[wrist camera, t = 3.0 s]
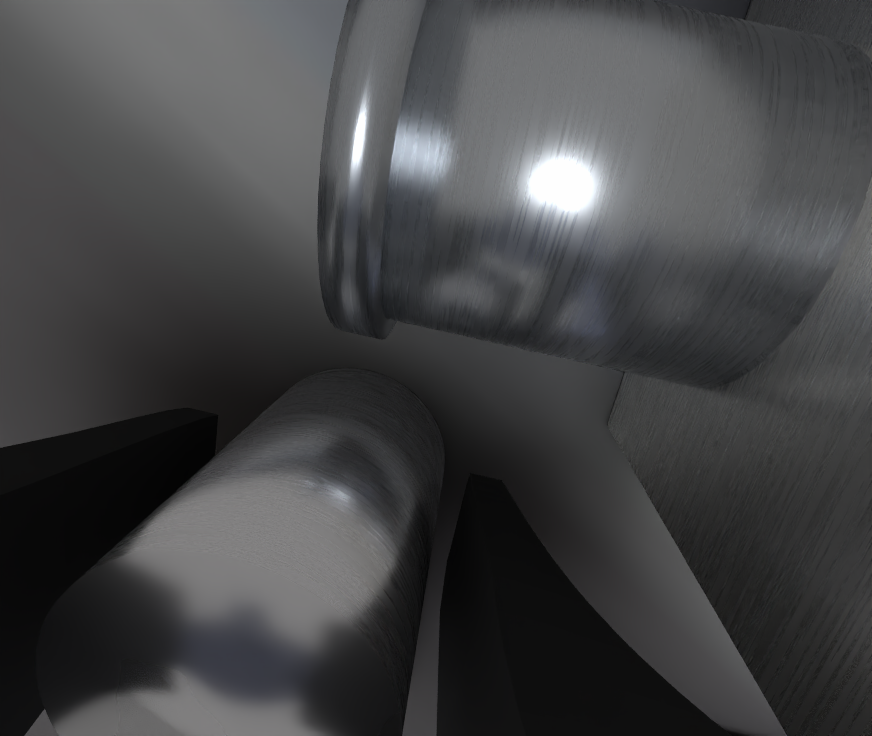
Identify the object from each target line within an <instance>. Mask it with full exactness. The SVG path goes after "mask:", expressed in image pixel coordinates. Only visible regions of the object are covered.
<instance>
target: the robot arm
mask: <svg viewBox="0 0 872 736" xmlns="http://www.w3.org/2000/svg"><path fill="white" fill-rule="evenodd" d="M217 421H218V415H216V414H212V413H207V412H203V411H199V410H194V409H190V408H182V409H174V410H168V411H163V412H158V413H154V414H149V415H145V416H141V417H136V418H132V419H128V420H124V421H120V422H115V423H111V424H107V425H103V426H99V427H95V428H90V429H86V430H82V431H78V432H74V433H69V434H64V435H60V436H55V437H50V438H45V439H41V440H36V441H31V442H27V443H22V444H17V445H12V446H8V447H3V448H0V736H24V735H25V734H26V733H27V731H28V730H29V729H30V727H31V726H32V725H33V723H34V722H35V721H36V719H37V718H38V717H39V715H40V714H41V713H42V711H43V710H44V709H45V708H44V705H43V702H42V699H41V695H40V692H39V688H38V683H37V675H36V649H37V644H38V640H39V635H40V631H41V629H42V626H43V624H44V622H45V619H46V617H47V615H48V613H49V612H50V610H51V609H52V607H53V606H54V604H55V603H56V601H57V600H58V599H59V598H60V597H61V596H62V595H63V594H64V593H65V592H66V590H67V589H68V588H69V587H70V586H71V585H72V584H74V583H75V582H76V581H77V580H78V579H79V578H80V577H81V576H82V575H84V574H85V573H86V572H87V571H88V570H89V569H90V568H91V567H92V566H94V565H95V564H96V563H97V562H98V561H99V560H100V559H101V558H102V557H104V556H105V555H106V554H107V553H108V552H109V551H110V550H111V549H112V548H113V547H115V546H116V545H117V544H118V543H119V542H120V541H121V540H122V539H123V538H125V537H126V536H127V535H128V534H129V533H130V532H131V531H132V530H133V529H135V528H136V527H137V526H138V525H139V524H140V523H141V522H142V521H143V520H144V519H146V518H147V517H148V516H149V515H150V514H151V513H152V512H153V511H154V510H156V509H157V508H158V507H159V506H160V505H161V504H162V503H163V502H164V501H166V500H167V499H168V498H169V497H170V496H171V495H172V494H173V493H174V492H176V491H177V490H178V489H179V488H180V487H181V486H182V485H183V484H184V483H185V482H187V481H188V480H189V479H190V478H191V477H192V476H193V475H194V474H195V473H197V472H198V471H199V470H200V469H201V468H202V467H203V466H204V465H205V464H207V463H208V462H209V461H210V460H211V459H212V458H213V457H214V456H215V445H216V433H217ZM437 736H731V735H730V734H729V733H728V732H726V731H725V730H724V729H723V728H721V727H720V726H719V725H717V724H716V723H715V722H714V721H712V720H711V719H710V718H709V717H708V716H706V715H705V714H704V713H703V712H702V711H701V710H699V709H698V708H697V707H696V706H695V705H693V704H692V703H691V702H690V701H689V700H688V699H686V698H685V697H684V696H683V695H682V694H681V693H679V692H678V691H677V690H676V689H675V688H674V687H673V686H672V685H671V684H669V683H668V682H667V681H666V680H665V679H664V678H663V677H662V676H661V675H660V674H659V673H657V672H656V671H655V670H654V669H653V668H652V667H651V666H650V665H649V664H648V663H647V662H646V661H644V660H643V659H642V658H641V657H640V656H639V655H638V654H637V653H636V652H635V651H634V650H633V649H632V648H631V647H630V646H629V645H628V644H627V643H626V642H625V641H624V640H623V639H622V638H621V637H620V636H619V635H618V634H617V633H616V632H615V631H614V630H613V629H612V628H611V627H610V626H609V625H608V623H607V622H606V621H605V620H604V619H603V618H602V617H601V616H600V615H599V614H598V613H597V612H596V611H595V610H594V608H593V607H592V606H591V605H590V604H589V603H588V602H587V601H586V600H585V598H584V597H583V596H582V595H581V594H580V593H579V591H578V590H577V589H576V588H575V587H574V585H573V584H572V583H571V582H570V580H569V579H568V578H567V576H566V575H565V574H564V573H563V571H562V570H561V569H560V568H559V566H558V565H557V564H556V562H555V561H554V560H553V558H552V557H551V556H550V554H549V553H548V552H547V550H546V549H545V547H544V546H543V545H542V543H541V542H540V540H539V539H538V537H537V536H536V534H535V533H534V531H533V530H532V528H531V527H530V525H529V524H528V522H527V521H526V519H525V518H524V516H523V514H522V513H521V511H520V510H519V508H518V506H517V505H516V503H515V501H514V500H513V498H512V497H511V495H510V493H509V492H508V490H507V488H506V487H505V485H504V483H503V482H502V480H498V479H494V478H489V477H485V476H481V475H476V474H472V473H470V475H469V479H468V482H467V486H466V490H465V494H464V498H463V502H462V506H461V510H460V514H459V517H458V521H457V525H456V529H455V533H454V537H453V541H452V545H451V548H450V552H449V556H448V560H447V566H446V573H445V579H444V586H443V593H442V601H441V608H440V630H439V665H438V702H437Z"/></svg>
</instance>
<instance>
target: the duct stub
mask: <svg viewBox="0 0 872 736" xmlns="http://www.w3.org/2000/svg"><path fill="white" fill-rule="evenodd" d="M317 234H318V263H319V276H320V284H321V291H322V298H323V302H324V305H325V309H326V313H327V315H328V317H329V320H330V322H331V323H332V324H333V326H334V327H335V328H337V329H339V330H342V331H346V332H351V333H355V334H359V335H364V336H368V337H373V338H377V339H386V338H387V336H388V335H389V334H390V333H391V331H392V330H393V328H394V326H395V324H396V322H397V321H400V322H404V323H409V324H413V325H418V326H422V327H427V328H431V329H435V330H440V331H444V332H449V333H453V334H458V335H462V336H467V337H471V338H476V339H480V340H484V341H489V342H493V343H498V344H502V345H507V346H511V347H516V348H520V349H525V350H529V351H533V352H538V353H542V354H547V355H551V356H556V357H560V358H565V359H569V360H574V361H578V362H582V363H587V364H591V365H596V366H600V367H605V368H609V369H614V370H618V371H623V372H625V374H624V377H623V380H622V383H621V385H620V388H619V391H618V394H617V397H616V400H615V403H614V406H613V409H612V412H611V415H610V418H609V421H608V424H607V426H608V428H609V429H610V431H611V433H612V435H613V436H614V438H615V440H616V441H617V443H618V445H619V447H620V448H621V450H622V452H623V453H624V455H625V457H626V459H627V460H628V462H629V464H630V465H631V467H632V469H633V471H634V472H635V474H636V476H637V478H638V479H639V481H640V483H641V484H642V486H643V488H644V490H645V491H646V493H647V495H648V496H649V498H650V500H651V502H652V503H653V505H654V507H655V509H656V510H657V512H658V514H659V515H660V517H661V519H662V521H663V522H664V524H665V526H666V527H667V529H668V531H669V533H670V534H671V536H672V538H673V539H674V541H675V543H676V545H677V546H678V548H679V550H680V552H681V553H682V555H683V557H684V558H685V560H686V562H687V564H688V565H689V567H690V569H691V570H692V572H693V574H694V576H695V577H696V579H697V581H698V583H699V584H700V586H701V588H702V589H703V591H704V593H705V595H706V596H707V598H708V600H709V601H710V603H711V605H712V607H713V608H714V610H715V612H716V614H717V615H718V617H719V619H720V620H721V622H722V624H723V626H724V627H725V629H726V631H727V632H728V634H729V636H730V638H731V639H732V641H733V643H734V644H735V646H736V648H737V650H738V651H739V653H740V655H741V657H742V658H743V660H744V662H745V663H746V665H747V667H748V669H749V670H750V672H751V674H752V675H753V677H754V679H755V681H756V682H757V684H758V686H759V688H760V689H761V691H762V693H763V694H764V696H765V698H766V700H767V701H768V703H769V705H770V706H771V708H772V710H773V712H774V713H775V715H776V717H777V719H778V720H779V722H780V724H781V725H782V727H783V729H784V731H785V732H786V734H787V736H872V0H752V1H751V4H750V7H749V10H748V12H747V15H746V18H745V20H743V19H739V18H734V17H729V16H724V15H719V14H715V13H710V12H705V11H700V10H695V9H690V8H686V7H681V6H676V5H671V4H666V3H662V2H657V1H652V0H349V1H348V4H347V7H346V11H345V16H344V20H343V24H342V29H341V33H340V37H339V41H338V46H337V51H336V57H335V62H334V67H333V73H332V78H331V84H330V90H329V97H328V104H327V111H326V118H325V125H324V135H323V144H322V153H321V164H320V178H319V192H318V224H317Z"/></svg>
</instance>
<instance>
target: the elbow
mask: <svg viewBox="0 0 872 736" xmlns="http://www.w3.org/2000/svg"><path fill="white" fill-rule="evenodd" d="M444 468H445V451H444V444H443V440H442V436H441V433H440V430H439V428H438V426H437V423H436V421H435V420H434V418H433V416H432V414H431V413H430V411H429V410H428V409H427V407H426V406H425V405H424V404H423V402H422V401H421V400H420V399H419V398H418V397H417V396H416V395H415V394H414V393H412V392H411V391H410V390H408V389H407V388H406V387H405V386H403V385H402V384H400V383H398V382H396V381H395V380H393V379H391V378H389V377H386V376H384V375H382V374H379V373H375V372H372V371H368V370H362V369H356V368H339V369H330V370H326V371H322V372H318V373H316V374H313V375H310V376H308V377H306V378H304V379H303V380H301V381H299V382H298V383H296V384H295V385H294V386H292V387H291V388H290V389H289V390H287V391H286V392H285V393H284V394H283V395H282V396H281V397H280V398H279V399H277V400H276V401H275V402H274V403H273V404H272V405H271V406H270V407H269V408H267V409H266V410H265V411H264V412H263V413H262V414H261V415H260V416H259V417H257V418H256V419H255V420H254V421H253V422H252V423H251V424H250V425H249V426H248V427H246V428H245V429H244V430H243V431H242V432H241V433H240V434H239V435H238V436H236V437H235V438H234V439H233V440H232V441H231V442H230V443H229V444H228V445H226V446H225V447H224V448H223V449H222V450H221V451H220V452H219V453H218V454H216V455H215V456H214V457H213V458H212V459H211V460H210V461H209V462H208V463H207V464H205V465H204V466H203V467H202V468H201V469H200V470H199V471H198V472H197V473H195V474H194V475H193V476H192V477H191V478H190V479H189V480H188V481H187V482H185V483H184V484H183V485H182V486H181V487H180V488H179V489H178V490H177V491H176V492H174V493H173V494H172V495H171V496H170V497H169V498H168V499H167V500H166V501H164V502H163V503H162V504H161V505H160V506H159V507H158V508H157V509H156V510H154V511H153V512H152V513H151V514H150V515H149V516H148V517H147V518H146V519H144V520H143V521H142V522H141V523H140V524H139V525H138V526H137V527H136V528H135V529H133V530H132V531H131V532H130V533H129V534H128V535H127V536H126V537H125V538H123V539H122V540H121V541H120V542H119V543H118V544H117V545H116V546H115V547H113V548H112V549H111V550H110V551H109V552H108V553H107V554H106V555H105V556H104V557H102V558H101V559H100V560H99V561H98V562H97V563H96V564H95V565H94V566H92V567H91V568H90V569H89V570H88V571H87V572H86V573H85V574H84V575H82V576H81V577H80V578H79V579H78V580H77V581H76V582H75V583H74V584H72V585H71V586H70V587H69V588H68V589H67V590H66V592H65V593H64V594H63V595H62V596H61V597H60V598H59V599H58V600H57V601H56V603H55V604H54V606H53V607H52V609H51V610H50V612H49V613H48V615H47V617H46V619H45V622H44V624H43V626H42V629H41V631H40V635H39V640H38V644H37V649H36V675H37V683H38V688H39V692H40V695H41V699H42V702H43V705H44V708H45V710H46V712H47V714H48V717H49V719H50V721H51V723H52V725H53V727H54V728H55V730H56V732H57V733H58V735H59V736H402V732H403V725H404V719H405V713H406V707H407V700H408V694H409V688H410V681H411V675H412V669H413V663H414V656H415V650H416V644H417V637H418V631H419V625H420V619H421V612H422V606H423V600H424V593H425V587H426V581H427V575H428V568H429V562H430V556H431V549H432V543H433V537H434V531H435V524H436V518H437V512H438V506H439V499H440V493H441V487H442V480H443V474H444Z"/></svg>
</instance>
